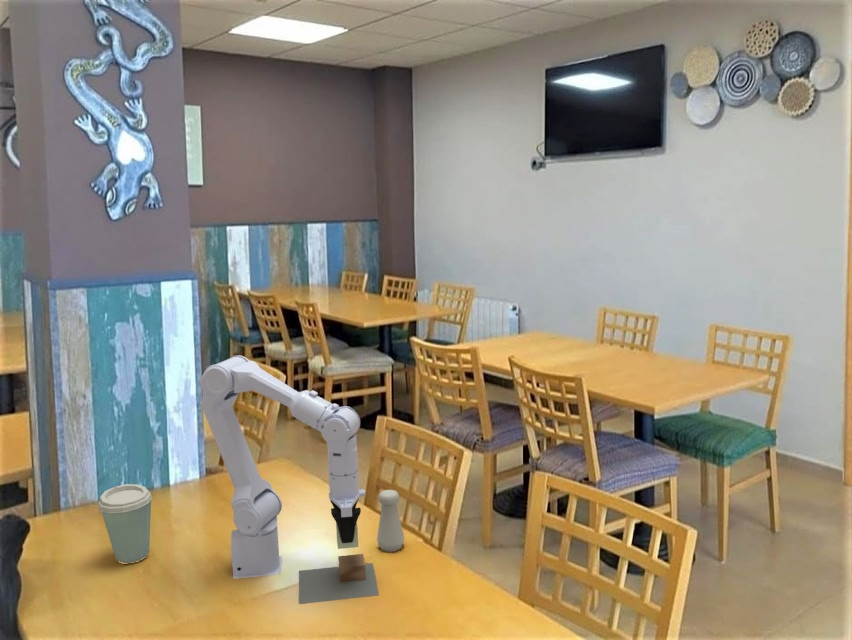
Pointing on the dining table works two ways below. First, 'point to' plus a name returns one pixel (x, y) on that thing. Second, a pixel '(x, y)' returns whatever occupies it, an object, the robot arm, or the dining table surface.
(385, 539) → the salt shaker
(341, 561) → the walnut block
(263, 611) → the dining table surface
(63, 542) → the dining table surface
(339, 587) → the slate mat
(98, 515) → the dining table surface
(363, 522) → the dining table surface
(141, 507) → the disposable coffee cup
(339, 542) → the sage block
